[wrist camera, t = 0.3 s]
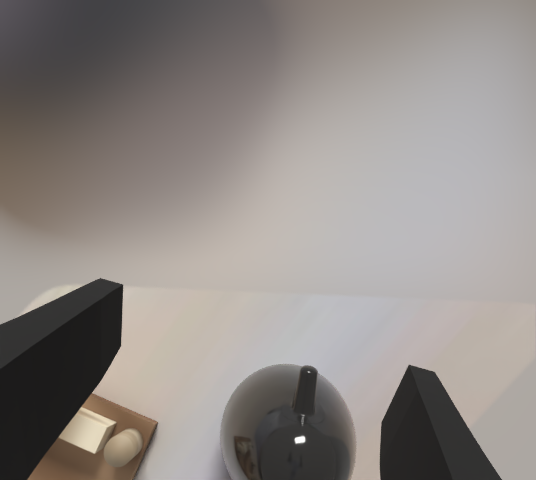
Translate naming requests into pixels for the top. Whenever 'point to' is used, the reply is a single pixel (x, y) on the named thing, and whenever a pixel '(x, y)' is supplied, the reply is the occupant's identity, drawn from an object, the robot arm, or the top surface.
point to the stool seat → (107, 459)
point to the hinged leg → (88, 430)
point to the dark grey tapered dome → (287, 427)
